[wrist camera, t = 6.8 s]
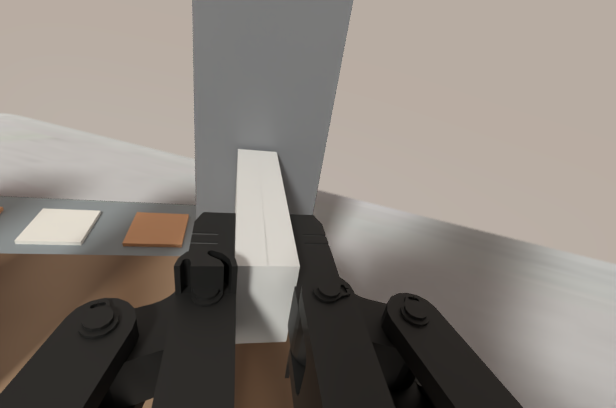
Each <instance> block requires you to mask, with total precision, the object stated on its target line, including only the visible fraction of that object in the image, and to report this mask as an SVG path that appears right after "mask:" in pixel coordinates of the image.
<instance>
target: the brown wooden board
mask: <svg viewBox="0 0 616 408" xmlns="http://www.w3.org/2000/svg"><path fill="white" fill-rule="evenodd" d="M179 257H180V256H134V255H71V254H8V253H0V393H1V392H2V391H3V390H4V389H5V387H6V386H7V385H8V384H9V383H10V382H11V380H12V379H13V378H14V377H15V376H16V375H17V373H18V372H19V371H20V370H21V369H22V368H23V366H24V365H25V364H26V363H27V362H28V361H29V359H30V358H31V357H32V356H33V355H34V354H35V353H36V351H37V350H38V349H39V348H40V347H41V346H42V344H43V343H44V342H45V341H46V340H47V339H48V337H49V336H50V335H51V334H52V333H53V332H54V330H55V329H56V328H57V327H58V326H59V325H60V323H61V322H62V321H63V320H64V319H65V318H66V317H67V316H68V315H69V314H70V313H71V312H72V311H74V310H75V309H76V308H77V307H79V306H81V305H83V304H85V303H87V302H89V301H93V300H97V299H101V298H119V299H122V300H125V301H127V302H129V303H130V304H131V305H132V306H133V307H134V308H138V307H141V306H145V305H149V304H153V303H156V302H159V301H161V300H163V299H165V298H167V297H169V296H170V295H171V294H173V293H174V292H175V281H174V264H175V263H176V261H177V259H178V258H179ZM289 350H290V340H289V332H288V334H287V340H286V342H268V343H241V344H235V399H234V408H294V406H293V398H292V389H291V381H290V375H289V378H285V370H286V365H287V360H288V355H289ZM152 403H153V398H151V399H149V400H146V401H145V403H144V405H143V407H142V408H152Z"/></svg>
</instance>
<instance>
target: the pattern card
mask: <svg viewBox="0 0 616 408" xmlns="http://www.w3.org/2000/svg"><path fill="white" fill-rule="evenodd" d="M195 220H196V205H183V204H161V203H139V202H117V201H95V200H73V199H51V198H29V197H7V196H0V253H8V254H71V255H134V256H181V255H183V254H184V253H185V252H187V251H189V246H190V241H191V236H192V231H193V226H194V221H195Z"/></svg>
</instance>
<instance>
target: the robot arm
mask: <svg viewBox="0 0 616 408" xmlns="http://www.w3.org/2000/svg"><path fill="white" fill-rule="evenodd" d="M174 281H175V292H174V293H173V294H171V295H170V296H169V297H167V298H165V299H163V300H161V301H159V302H156V303H153V304H149V305H145V306H141V307H138V308H134V307H133V306H132V305H131V304H130V303H129V302H127V301H125V300H122V299H119V298H101V299H97V300H93V301H89V302H87V303H85V304H83V305H81V306H79V307H77V308H76V309H75V310H74V311H72V312H71V313H70V314H69V315H68V316H67V317H66V318H65V319H64V320H63V321H62V322H61V323H60V325H59V326H58V327H57V328H56V329H55V330H54V332H53V333H52V334H51V335H50V336H49V337H48V339H47V340H46V341H45V342H44V343H43V344H42V346H41V347H40V348H39V349H38V350H37V351H36V353H35V354H34V355H33V356H32V357H31V358H30V359H29V361H28V362H27V363H26V364H25V365H24V366H23V368H22V369H21V370H20V371H19V372H18V373H17V375H16V376H15V377H14V378H13V379H12V380H11V382H10V383H9V384H8V385H7V386H6V387H5V389H4V390H3V391H2V392H1V393H0V408H142V407H143V405H144V403H145V401H146V400H149V399H151V398H153V403H152V408H234V399H235V344H241V343H268V342H286V340H287V334H288V332H289V340H290V350H289V355H288V360H287V365H286V370H285V378H289V375H290V381H291V389H292V398H293V406H294V408H523V407H522V406H521V405H520V404H519V402H518V401H517V400H516V399H515V398H514V397H513V396H512V394H511V393H510V392H509V391H508V390H507V389H506V388H505V386H504V385H503V384H502V383H501V382H500V381H499V380H498V378H497V377H496V376H495V375H494V374H493V373H492V372H491V370H490V369H489V368H488V367H487V366H486V365H485V364H484V362H483V361H482V360H481V359H480V358H479V357H478V356H477V354H476V353H475V352H474V351H473V350H472V349H471V348H470V346H469V345H468V344H467V343H466V342H465V341H464V340H463V339H462V337H461V336H460V335H459V334H458V333H457V332H456V331H455V329H454V328H453V327H452V326H451V325H450V324H449V323H448V321H447V320H446V319H445V318H444V317H443V316H442V315H441V313H440V312H439V311H438V310H437V309H436V308H435V307H434V306H433V305H432V304H431V303H429V302H428V301H427V300H425V299H423V298H421V297H419V296H417V295H413V294H409V293H398V294H396V295H394V296H392V297H391V298H390V299H389V301H388V303H387V304H384V303H380V302H376V301H372V300H368V299H365V298H362V297H359V296H358V295H356V294H354V291H353V290H352V288H351V286H350V285H349V284H348V283H347V282H345V281H344V280H343V279H341V278H340V277H339V274H338V271H337V268H336V265H335V262H334V259H333V256H332V253H331V250H330V247H329V246H328V241H327V238H326V237H325V232H324V229H323V226H322V224H321V223H320V222H319V221H318V220H317V219H316V218H315V217H314V216H313V215H296V214H289V210H288V205H287V200H286V195H285V191H284V186H283V181H282V176H281V171H280V166H279V161H278V156H277V152H271V151H258V150H245V149H238V158H237V178H236V197H235V213H217V212H203V213H202V214H201V215H200V216H199V217H198V218H197V219H196V220H195V221H194V226H193V231H192V236H191V241H190V246H189V251H187V252H185V253H184V254H183V255H181V256H180V257H179V258H178V259H177V261H176V263H175V264H174Z"/></svg>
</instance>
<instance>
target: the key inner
mask: <svg viewBox="0 0 616 408" xmlns="http://www.w3.org/2000/svg"><path fill="white" fill-rule="evenodd" d="M352 4H353V0H192V7H193V65H194V66H193V67H194V124H195V182H196V219H197V218H198V217H199V216H200V215H201V214H202V213H203V212H217V213H235V197H236V178H237V158H238V149H245V150H258V151H271V152H277V156H278V161H279V166H280V171H281V176H282V181H283V186H284V191H285V195H286V200H287V205H288V210H289V214H296V215H313V210H314V205H315V200H316V194H317V189H318V184H319V179H320V173H321V168H322V163H323V157H324V152H325V147H326V142H327V136H328V131H329V126H330V120H331V115H332V110H333V105H334V99H335V94H336V89H337V83H338V78H339V73H340V68H341V62H342V57H343V51H344V46H345V41H346V36H347V31H348V25H349V20H350V15H351V10H352Z"/></svg>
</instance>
